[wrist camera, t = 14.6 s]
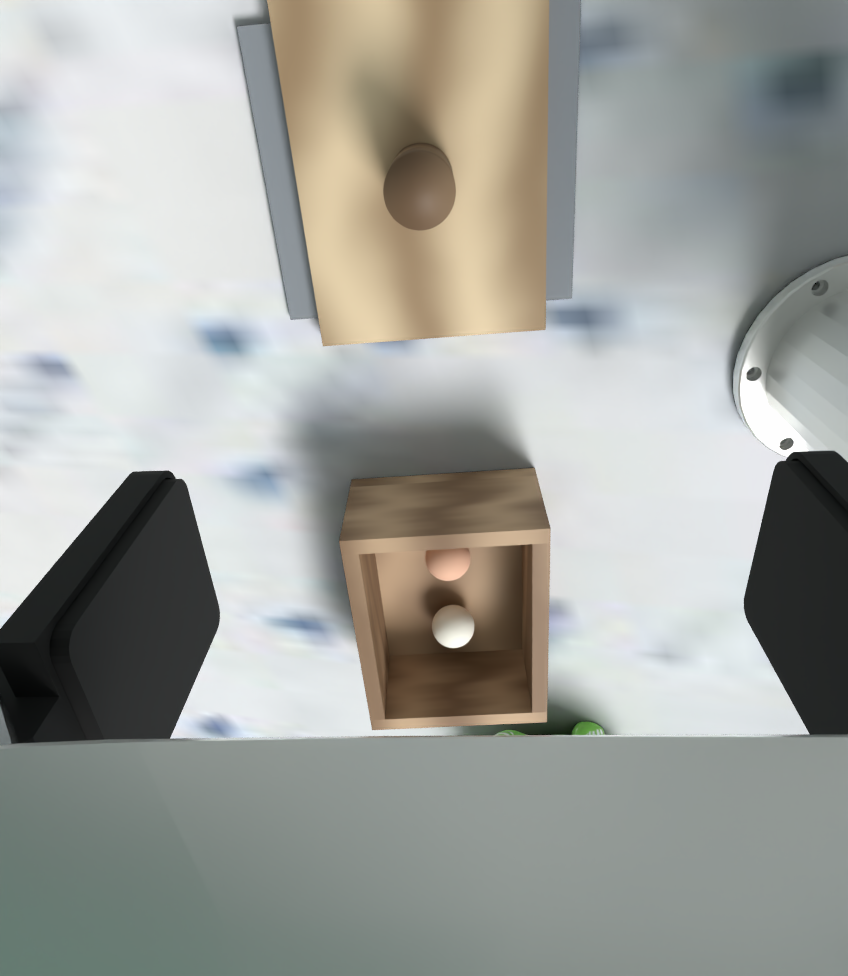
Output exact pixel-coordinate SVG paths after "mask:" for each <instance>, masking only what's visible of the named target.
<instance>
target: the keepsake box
mask: <svg viewBox="0 0 848 976" xmlns="http://www.w3.org/2000/svg"><path fill="white" fill-rule="evenodd" d="M339 544H340V549H341V555H342V561H343V566H344V572H345V578H346V583H347V589H348V595H349V600H350V606H351V612H352V618H353V623H354V629H355V635H356V640H357V646H358V652H359V657H360V663H361V669H362V674H363V680H364V686H365V691H366V697H367V703H368V708H369V714H370V720H371V725H372V730H384V729H406V728H429V727H451V726H473V725H495V724H518V723H540V722H547V692H548V636H549V580H550V525H549V521H548V517H547V514H546V510H545V506H544V502H543V498H542V494H541V491H540V487H539V483H538V479H537V475H536V471H535V468H524V469H509V470H493V471H477V472H462V473H446V474H430V475H415V476H399V477H383V478H368V479H352V480H351V485H350V490H349V495H348V500H347V505H346V510H345V514H344V519H343V524H342V529H341V534H340V539H339ZM458 548H468V549H469V551H470V556H471V561H470V565H469V568H468V570H467V571H466V573H465V574H464V575H463V576H461V577H460V578H458V579H456V580H452V581H444V580H440V579H438V578H436V577H435V576H433V575H432V574H431V573H430V571H429V570H428V568H427V565H426V561H425V555H426V551H427V550H441V549H458ZM448 605H459V606H461V607H463V608H465V609H466V610H467V611H468V612H469V613H470V614H471V616H472V617H473V620H474V633H473V636H472V638H471V639H470V640H469V642H468V643H466V644H465V645H463V646H461V647H458V648H448V647H445V646H443V645H442V644H440V643H439V642H438V641H437V640H436V638H435V636H434V634H433V631H432V621H433V618H434V616H435V614H436V613H437V612H438V611H439V610H440V609H441V608H443V607H445V606H448Z"/></svg>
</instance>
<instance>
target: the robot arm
mask: <svg viewBox="0 0 848 976" xmlns="http://www.w3.org/2000/svg"><path fill="white" fill-rule="evenodd" d="M815 283H816V285H815V286H814V287H813V285H814V284H815ZM812 287H813V288H812ZM750 368H751V370H750V371H749V372H747V371H748V370H749V369H750ZM733 394H734V399H735V403H736V408H737V411H738V413H739V415H740V417H741V419H742V421H743V423H744V424H745V426H746V427H747V428H748V429H749V430H750V432H751V433H752V434H753V435H754V436H755V437H756V438H757V439H758V440H759V441H760V442H761V443H762V444H763V445H764V446H766V447H767V448H769V449H770V450H772V451H774V452H775V453H777V454H779V455H782V456H785V457H788V458H787V459H786V461H780V462H778V463H777V465H776V466H775V469H774V471H773V476H772V480H771V484H770V489H769V493H768V497H767V502H766V506H765V510H764V514H763V519H762V523H761V527H760V532H759V536H758V540H757V545H756V549H755V553H754V557H753V562H752V566H751V570H750V575H749V579H748V583H747V588H746V592H745V597H744V610H745V615H746V618H747V621H748V623H749V624H750V626H751V628H752V630H753V632H754V634H755V635H756V637H757V639H758V641H759V643H760V644H761V646H762V648H763V650H764V652H765V654H766V655H767V657H768V659H769V661H770V663H771V664H772V666H773V668H774V670H775V672H776V674H777V675H778V677H779V679H780V681H781V683H782V684H783V686H784V688H785V690H786V692H787V694H788V695H789V697H790V699H791V701H792V703H793V704H794V706H795V708H796V710H797V712H798V714H799V715H800V717H801V719H802V721H803V723H804V724H805V726H806V728H807V730H808V732H809V734H810V735H485V736H358V737H270V738H184V739H170V737H171V735H172V732H173V730H174V728H175V726H176V723H177V721H178V719H179V716H180V714H181V712H182V710H183V707H184V705H185V703H186V700H187V698H188V696H189V693H190V691H191V689H192V687H193V684H194V682H195V680H196V677H197V675H198V673H199V671H200V668H201V666H202V664H203V661H204V659H205V657H206V654H207V652H208V650H209V648H210V645H211V643H212V641H213V638H214V636H215V634H216V632H217V629H218V626H219V619H220V610H219V605H218V601H217V597H216V594H215V590H214V586H213V582H212V578H211V575H210V571H209V567H208V563H207V560H206V556H205V552H204V548H203V545H202V541H201V537H200V533H199V530H198V526H197V522H196V518H195V515H194V511H193V507H192V503H191V500H190V496H189V492H188V488H187V486H186V483H185V482H184V480H182V479H176V478H175V476H174V475H173V473H172V472H170V471H141V472H132V473H131V474H130V475H129V476H128V477H127V478H126V479H125V481H124V482H123V483H122V484H121V485H120V487H119V488H118V489H117V490H116V491H115V493H114V494H113V495H112V496H111V497H110V499H109V500H108V501H107V502H106V503H105V504H104V506H103V507H102V508H101V509H100V510H99V512H98V513H97V514H96V515H95V516H94V518H93V519H92V520H91V521H90V522H89V524H88V525H87V526H86V527H85V528H84V530H83V531H82V532H81V533H80V534H79V536H78V537H77V538H76V539H75V540H74V542H73V543H72V544H71V545H70V546H69V547H68V549H67V550H66V551H65V552H64V553H63V555H62V556H61V557H60V558H59V559H58V561H57V562H56V563H55V564H54V565H53V567H52V568H51V569H50V570H49V571H48V573H47V574H46V575H45V576H44V577H43V579H42V580H41V581H40V582H39V583H38V585H37V586H36V587H35V588H34V589H33V590H32V592H31V593H30V594H29V595H28V596H27V598H26V599H25V600H24V601H23V602H22V604H21V605H20V606H19V607H18V608H17V610H16V611H15V612H14V613H13V614H12V616H11V617H10V618H9V619H8V620H7V622H6V623H5V624H4V625H3V626H2V628H1V629H0V976H848V256H844V257H840V258H836V259H834V260H831V261H829V262H827V263H825V264H822V265H820V266H818V267H816V268H813V269H812V270H810V271H808V272H807V273H805V274H804V275H802V276H800V277H799V278H797V279H796V280H794V281H793V282H791V283H790V284H789V285H788V286H787V287H785V288H784V289H783V290H782V291H781V292H780V293H778V294H777V295H776V296H775V297H774V298H773V299H772V300H771V301H770V302H769V303H768V305H767V306H766V307H765V308H764V309H763V310H762V311H761V313H760V314H759V315H758V316H757V318H756V319H755V321H754V322H753V324H752V326H751V327H750V329H749V330H748V332H747V334H746V335H745V338H744V340H743V342H742V345H741V347H740V350H739V352H738V355H737V359H736V364H735V368H734V373H733Z"/></svg>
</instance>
